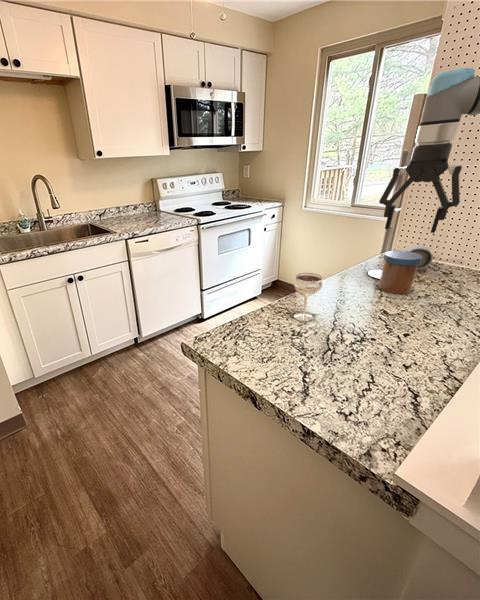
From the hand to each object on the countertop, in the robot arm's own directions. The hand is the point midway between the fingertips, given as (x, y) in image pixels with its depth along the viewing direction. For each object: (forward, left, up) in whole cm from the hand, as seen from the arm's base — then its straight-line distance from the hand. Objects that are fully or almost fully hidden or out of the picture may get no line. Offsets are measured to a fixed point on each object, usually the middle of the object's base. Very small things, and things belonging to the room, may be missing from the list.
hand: (409, 229), depth 89 cm
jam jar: (0, 0, -19) cm, 19 cm away
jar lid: (0, 0, -8) cm, 8 cm away
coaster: (+9, -7, -19) cm, 22 cm away
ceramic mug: (+12, -21, -19) cm, 31 cm away
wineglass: (-4, +36, -19) cm, 41 cm away
